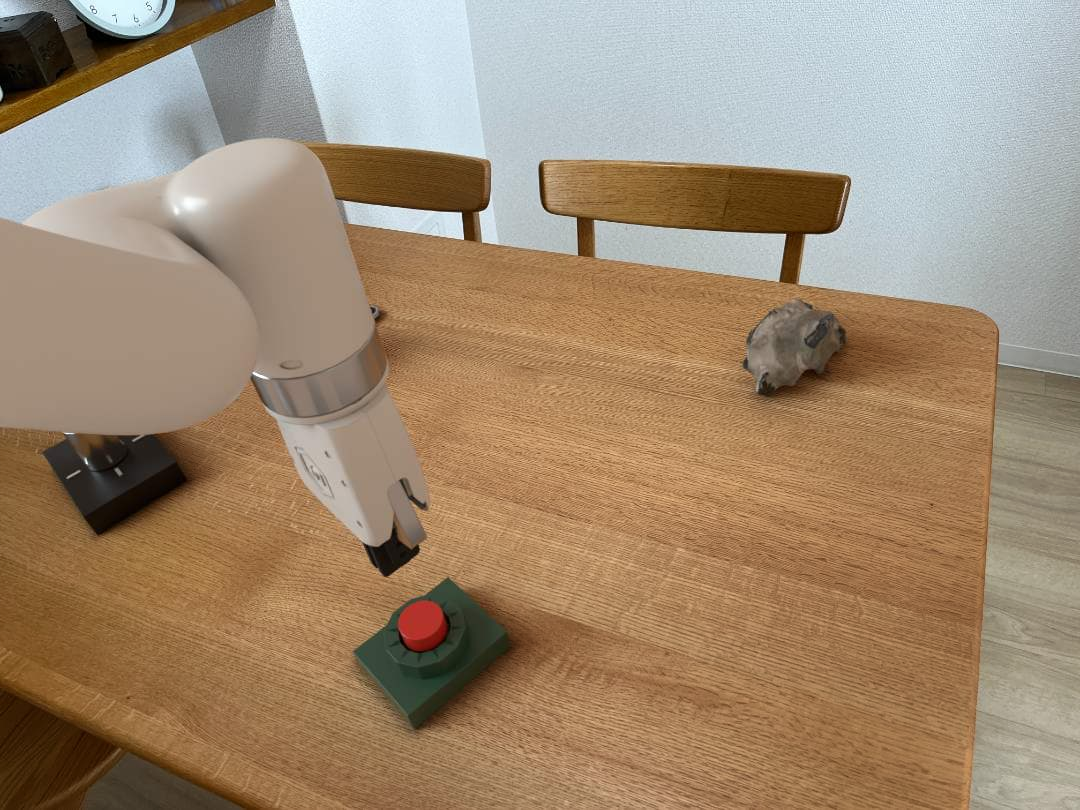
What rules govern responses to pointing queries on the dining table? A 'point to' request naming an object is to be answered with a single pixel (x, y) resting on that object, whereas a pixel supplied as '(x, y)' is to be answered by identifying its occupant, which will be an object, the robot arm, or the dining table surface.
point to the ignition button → (422, 626)
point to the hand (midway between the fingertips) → (396, 558)
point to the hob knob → (98, 449)
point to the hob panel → (116, 480)
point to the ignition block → (433, 655)
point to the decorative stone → (791, 345)
